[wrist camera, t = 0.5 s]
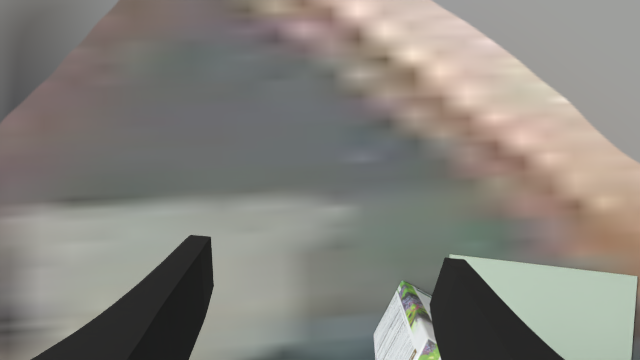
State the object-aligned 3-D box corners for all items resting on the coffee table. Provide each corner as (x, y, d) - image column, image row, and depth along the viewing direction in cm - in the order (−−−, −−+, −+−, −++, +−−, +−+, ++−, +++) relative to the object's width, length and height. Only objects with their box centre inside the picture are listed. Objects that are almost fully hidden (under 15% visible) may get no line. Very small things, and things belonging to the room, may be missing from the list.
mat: (623, 427, 34) (625, 429, 33) (435, 401, 35) (436, 403, 34) (635, 275, 34) (637, 276, 34) (449, 254, 35) (450, 254, 35)
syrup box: (459, 311, 34) (531, 390, 20) (428, 370, 34) (476, 491, 20) (401, 278, 35) (429, 333, 21) (370, 336, 35) (377, 431, 21)
